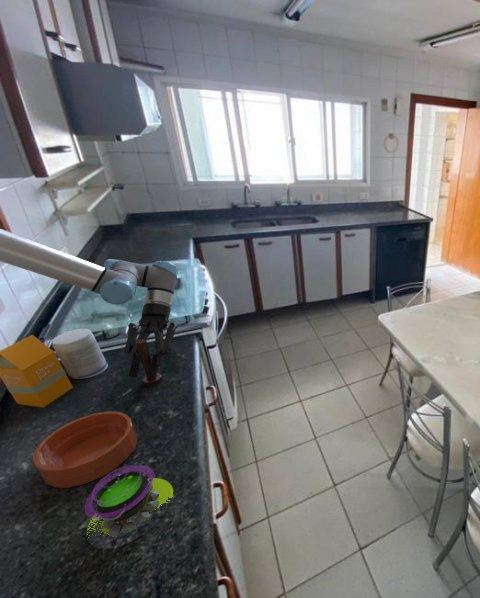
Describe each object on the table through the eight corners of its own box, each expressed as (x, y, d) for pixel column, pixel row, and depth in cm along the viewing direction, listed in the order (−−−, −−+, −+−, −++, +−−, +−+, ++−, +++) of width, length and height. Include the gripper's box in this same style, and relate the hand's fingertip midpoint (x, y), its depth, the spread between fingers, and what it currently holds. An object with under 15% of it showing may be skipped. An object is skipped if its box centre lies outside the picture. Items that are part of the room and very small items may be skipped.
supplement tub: (115, 364, 114) (99, 328, 107) (94, 382, 106) (75, 344, 99) (86, 364, 113) (68, 328, 107) (62, 382, 105) (41, 344, 98)
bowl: (49, 449, 83) (39, 430, 80) (136, 420, 93) (130, 402, 91) (38, 505, 71) (26, 485, 68) (140, 464, 81) (133, 445, 78)
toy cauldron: (83, 509, 71) (61, 476, 66) (164, 467, 80) (151, 435, 75) (90, 569, 61) (65, 535, 56) (182, 512, 71) (167, 479, 66)
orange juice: (20, 408, 94) (-18, 351, 85) (51, 387, 102) (20, 333, 93) (45, 410, 94) (11, 353, 85) (75, 389, 102) (46, 335, 93)
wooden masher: (143, 381, 108) (130, 339, 101) (161, 375, 111) (150, 335, 104) (144, 389, 105) (131, 347, 98) (163, 384, 108) (151, 342, 101)
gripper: (191, 309, 115) (179, 376, 107) (134, 309, 112) (118, 378, 104) (181, 302, 108) (168, 373, 100) (120, 302, 105) (101, 375, 97)
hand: (142, 376), depth 102 cm, fingers open, 5 cm apart
